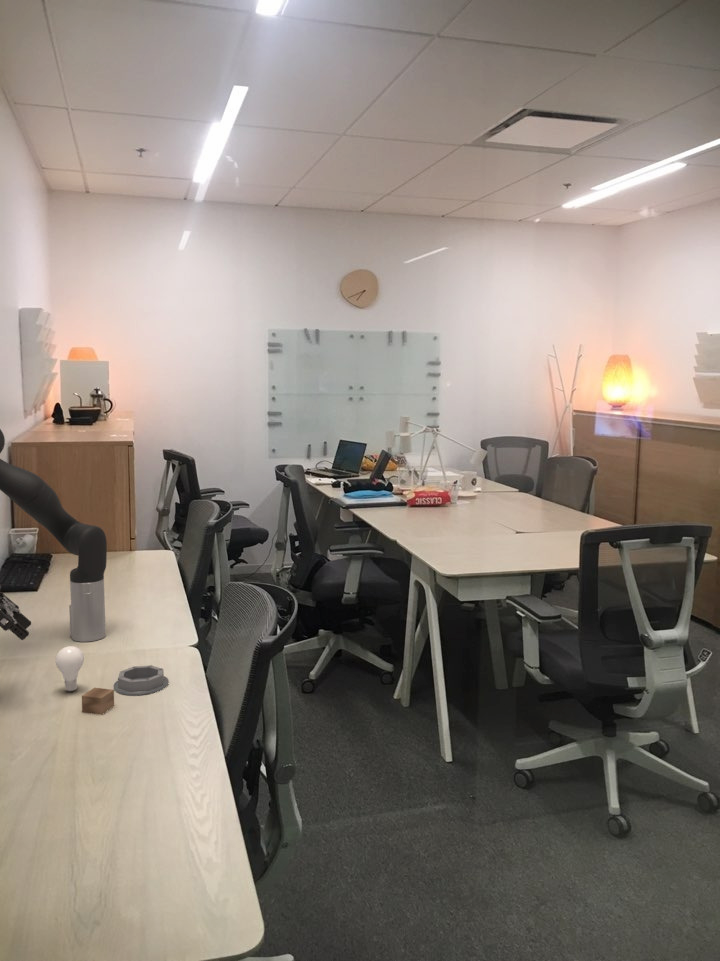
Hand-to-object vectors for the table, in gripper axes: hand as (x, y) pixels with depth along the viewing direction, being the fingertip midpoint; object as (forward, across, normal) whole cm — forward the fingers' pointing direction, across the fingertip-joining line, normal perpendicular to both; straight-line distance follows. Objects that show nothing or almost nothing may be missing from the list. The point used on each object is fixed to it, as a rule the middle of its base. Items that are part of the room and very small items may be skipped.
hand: (27, 631), depth 181 cm
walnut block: (+22, +13, +1) cm, 26 cm away
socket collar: (+28, +2, +8) cm, 30 cm away
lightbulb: (+18, 0, -4) cm, 18 cm away
